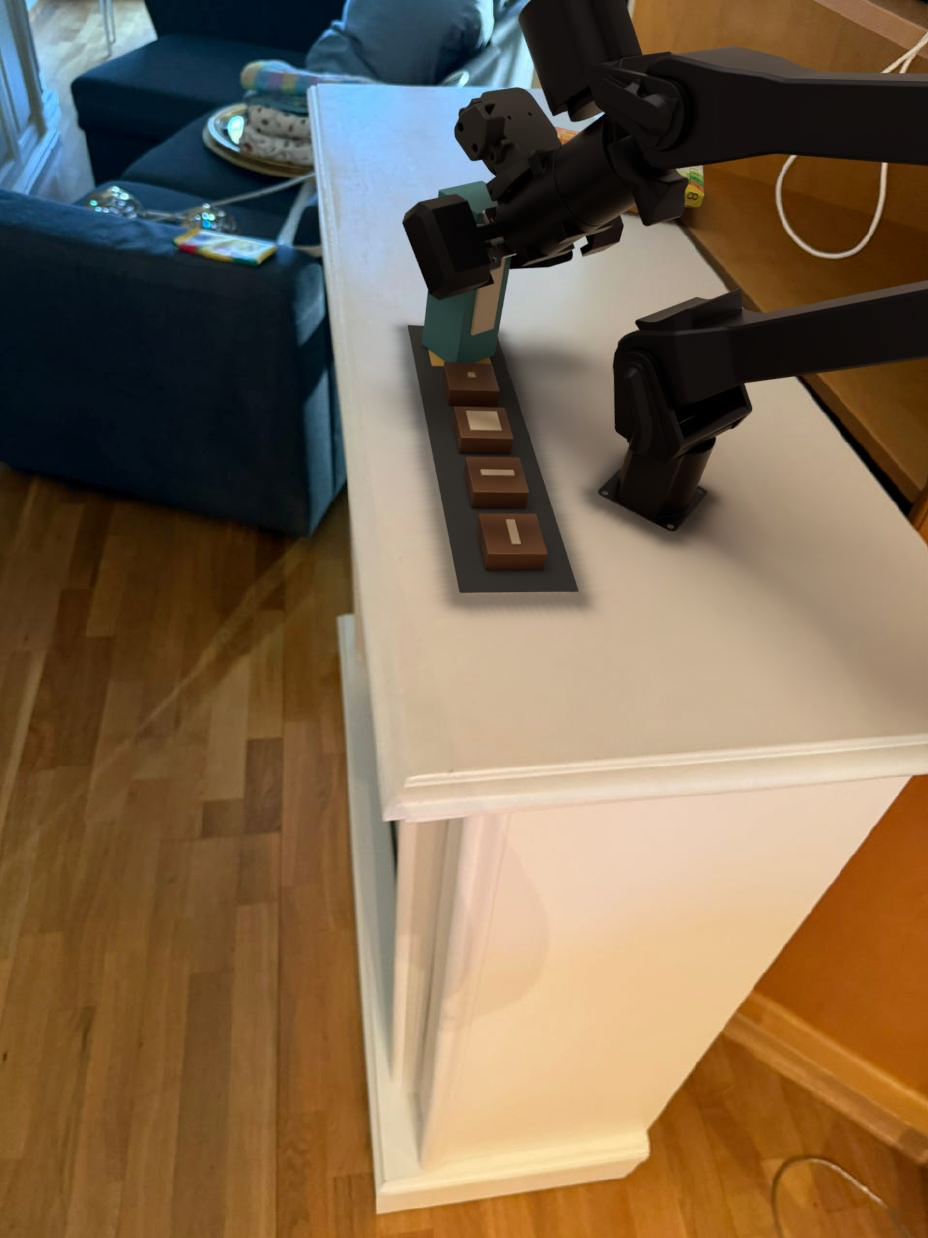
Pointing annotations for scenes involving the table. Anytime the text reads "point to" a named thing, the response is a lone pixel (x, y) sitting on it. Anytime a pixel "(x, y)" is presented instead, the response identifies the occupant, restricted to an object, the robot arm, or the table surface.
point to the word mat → (454, 488)
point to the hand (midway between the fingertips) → (457, 270)
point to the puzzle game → (694, 174)
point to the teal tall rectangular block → (468, 301)
